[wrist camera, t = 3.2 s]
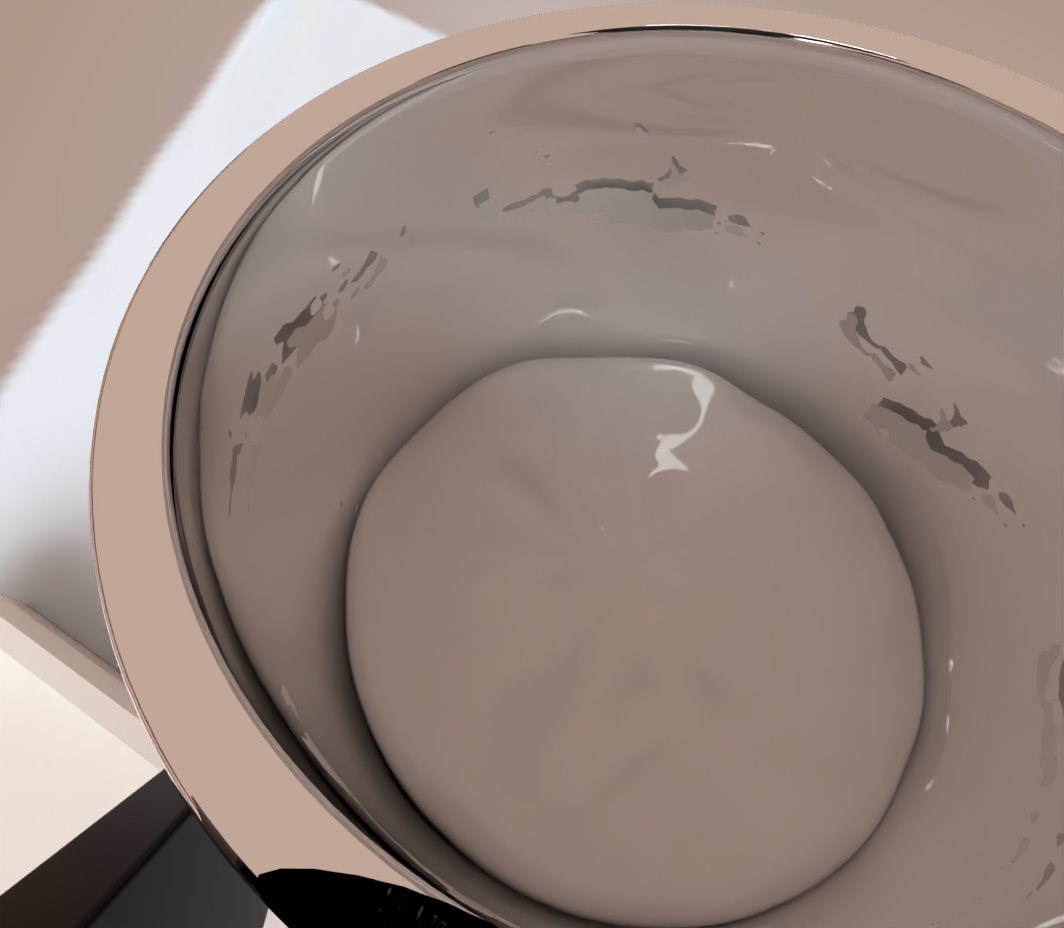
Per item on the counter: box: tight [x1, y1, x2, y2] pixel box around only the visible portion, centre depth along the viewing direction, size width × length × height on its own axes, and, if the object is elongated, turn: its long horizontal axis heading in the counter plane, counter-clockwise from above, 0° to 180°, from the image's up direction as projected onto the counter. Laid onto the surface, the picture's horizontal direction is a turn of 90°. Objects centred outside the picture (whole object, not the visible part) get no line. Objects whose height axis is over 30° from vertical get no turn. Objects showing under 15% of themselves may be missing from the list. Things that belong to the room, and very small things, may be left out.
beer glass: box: [89, 3, 1064, 928], centre depth 10 cm, size 7×7×15 cm
